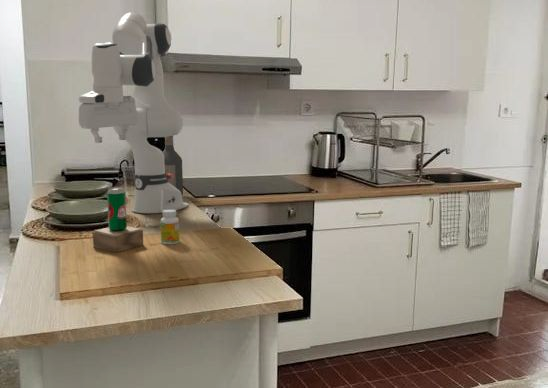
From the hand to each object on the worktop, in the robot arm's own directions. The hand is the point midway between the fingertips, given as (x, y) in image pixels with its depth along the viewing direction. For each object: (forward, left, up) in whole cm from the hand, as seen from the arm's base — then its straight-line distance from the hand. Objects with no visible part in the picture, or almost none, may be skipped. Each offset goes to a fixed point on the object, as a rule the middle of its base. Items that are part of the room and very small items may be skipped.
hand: (110, 141), depth 175 cm
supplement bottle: (-1, +24, -30) cm, 38 cm away
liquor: (-57, -33, -30) cm, 72 cm away
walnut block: (+11, +15, -29) cm, 35 cm away
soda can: (+11, +15, -25) cm, 31 cm away
